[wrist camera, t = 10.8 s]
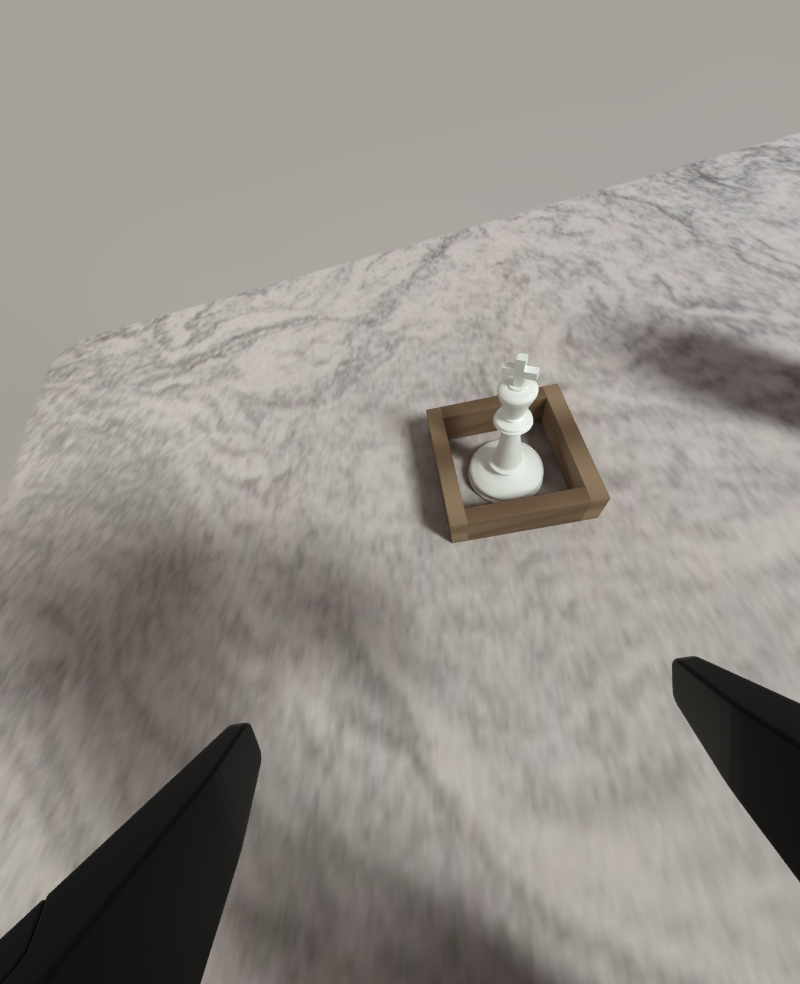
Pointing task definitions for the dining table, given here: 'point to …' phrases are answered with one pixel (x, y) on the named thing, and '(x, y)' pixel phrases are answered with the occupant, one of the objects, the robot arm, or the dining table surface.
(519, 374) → the chess piece
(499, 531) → the socket frame
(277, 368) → the dining table surface
